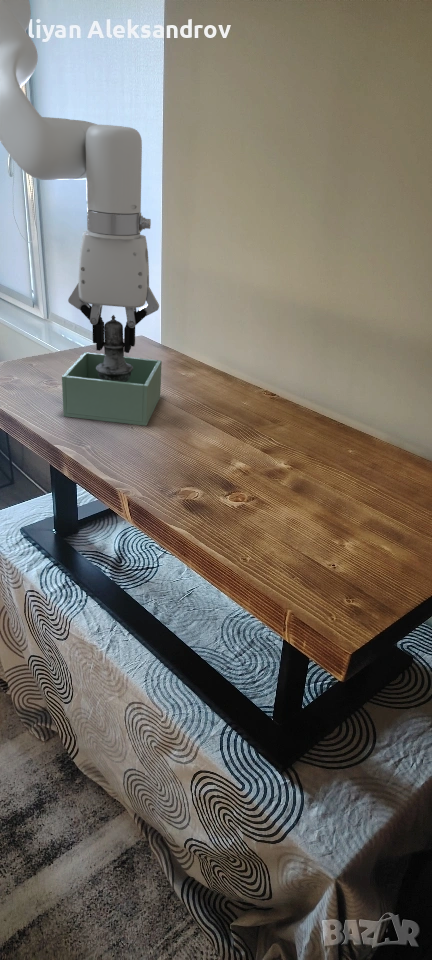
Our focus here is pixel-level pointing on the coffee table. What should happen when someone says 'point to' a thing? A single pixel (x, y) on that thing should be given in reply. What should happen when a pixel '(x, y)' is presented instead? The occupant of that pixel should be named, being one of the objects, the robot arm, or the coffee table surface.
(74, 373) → the box
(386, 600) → the coffee table surface
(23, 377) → the coffee table surface
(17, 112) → the robot arm
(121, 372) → the salt shaker
